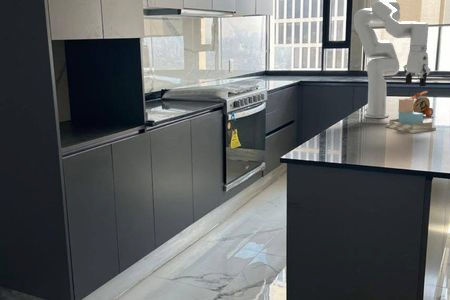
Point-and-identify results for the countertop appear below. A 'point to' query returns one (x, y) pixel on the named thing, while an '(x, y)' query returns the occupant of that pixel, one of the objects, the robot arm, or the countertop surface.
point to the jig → (410, 126)
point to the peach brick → (406, 105)
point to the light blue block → (410, 118)
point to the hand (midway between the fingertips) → (415, 85)
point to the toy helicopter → (422, 104)
